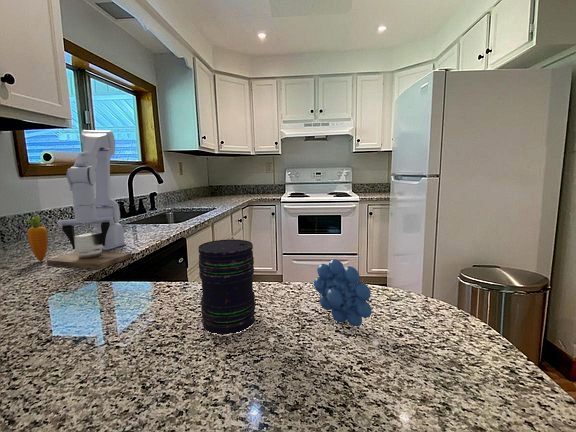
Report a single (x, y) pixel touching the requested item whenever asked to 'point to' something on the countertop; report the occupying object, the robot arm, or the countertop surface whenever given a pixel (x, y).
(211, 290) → the dark blue cylinder
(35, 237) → the carrot
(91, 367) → the countertop surface
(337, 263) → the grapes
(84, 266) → the lock board
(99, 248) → the cap
